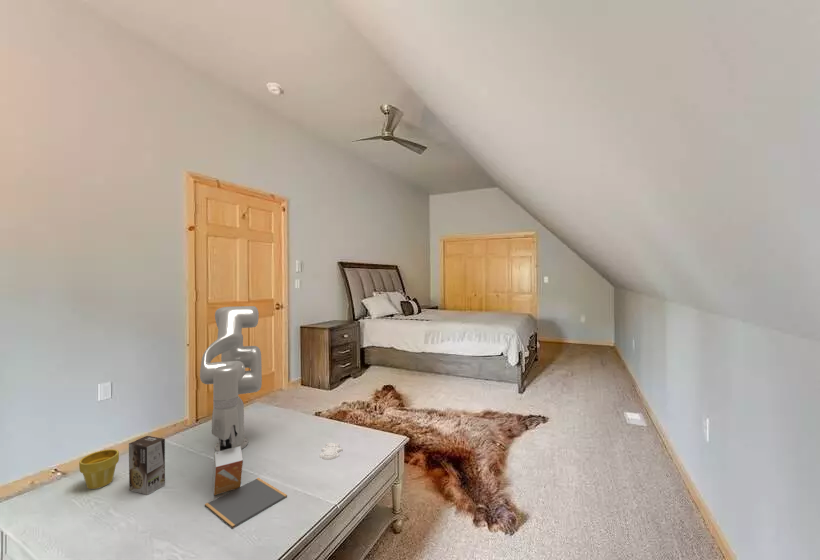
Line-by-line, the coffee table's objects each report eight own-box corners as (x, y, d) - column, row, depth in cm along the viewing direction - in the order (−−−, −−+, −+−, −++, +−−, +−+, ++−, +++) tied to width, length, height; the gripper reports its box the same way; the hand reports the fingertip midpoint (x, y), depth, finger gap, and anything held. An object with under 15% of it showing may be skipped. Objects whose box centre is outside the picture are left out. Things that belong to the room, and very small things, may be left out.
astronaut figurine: (345, 446, 150) (345, 439, 150) (337, 461, 138) (337, 453, 138) (325, 445, 150) (325, 438, 150) (315, 460, 138) (315, 452, 138)
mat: (204, 506, 110) (204, 503, 110) (258, 479, 124) (258, 477, 124) (232, 528, 100) (232, 526, 100) (287, 497, 114) (287, 494, 114)
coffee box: (166, 484, 121) (166, 438, 121) (146, 495, 115) (146, 447, 115) (147, 479, 124) (147, 434, 124) (128, 490, 118) (127, 442, 118)
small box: (213, 496, 115) (215, 467, 110) (212, 480, 120) (213, 451, 115) (240, 488, 119) (243, 460, 115) (238, 472, 124) (240, 445, 120)
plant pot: (73, 496, 115) (73, 466, 115) (86, 479, 124) (86, 452, 124) (113, 488, 119) (113, 459, 119) (123, 473, 129) (122, 446, 129)
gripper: (204, 401, 121) (204, 454, 121) (225, 410, 112) (225, 467, 112) (226, 395, 127) (226, 445, 127) (247, 404, 118) (247, 458, 118)
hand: (225, 455), depth 120 cm, fingers closed
